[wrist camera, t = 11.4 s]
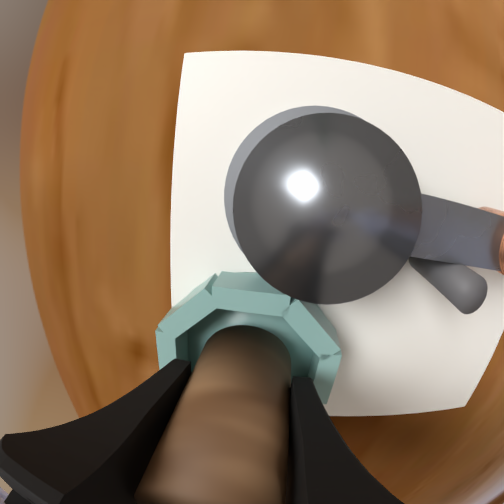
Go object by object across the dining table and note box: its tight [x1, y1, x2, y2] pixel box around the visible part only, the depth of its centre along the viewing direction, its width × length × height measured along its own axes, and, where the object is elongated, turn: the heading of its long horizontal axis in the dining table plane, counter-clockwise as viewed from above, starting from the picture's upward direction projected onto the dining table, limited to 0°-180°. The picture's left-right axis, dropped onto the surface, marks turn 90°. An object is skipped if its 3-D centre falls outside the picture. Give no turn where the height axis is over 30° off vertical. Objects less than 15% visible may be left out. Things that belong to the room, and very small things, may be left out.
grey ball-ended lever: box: [233, 113, 504, 305], centre depth 8 cm, size 11×5×3 cm, turn 84°
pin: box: [134, 325, 291, 504], centre depth 8 cm, size 4×4×7 cm
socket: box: [156, 271, 342, 404], centre depth 11 cm, size 7×7×2 cm
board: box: [171, 51, 504, 416], centre depth 9 cm, size 17×16×5 cm
